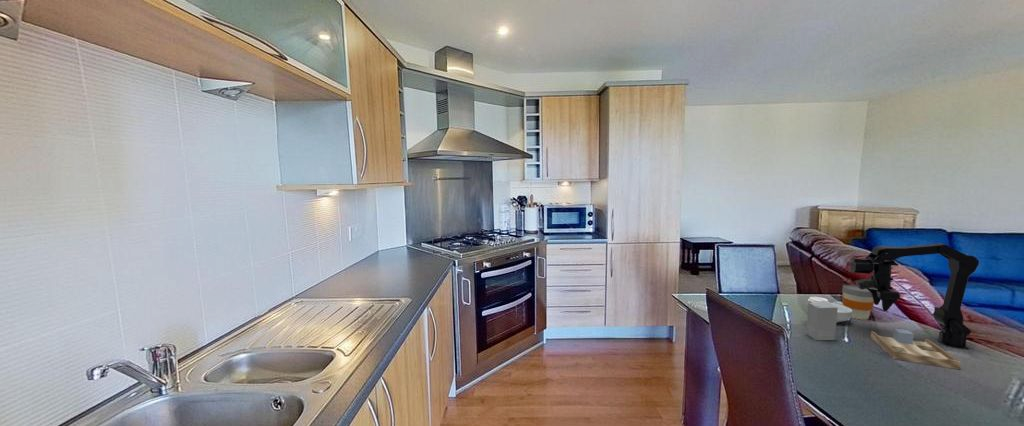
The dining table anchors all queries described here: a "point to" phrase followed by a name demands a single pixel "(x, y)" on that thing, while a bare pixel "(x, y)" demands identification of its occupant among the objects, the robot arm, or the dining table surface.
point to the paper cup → (817, 299)
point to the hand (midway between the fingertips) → (880, 307)
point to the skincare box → (821, 321)
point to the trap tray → (917, 352)
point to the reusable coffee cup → (857, 301)
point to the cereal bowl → (843, 312)
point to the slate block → (903, 336)
